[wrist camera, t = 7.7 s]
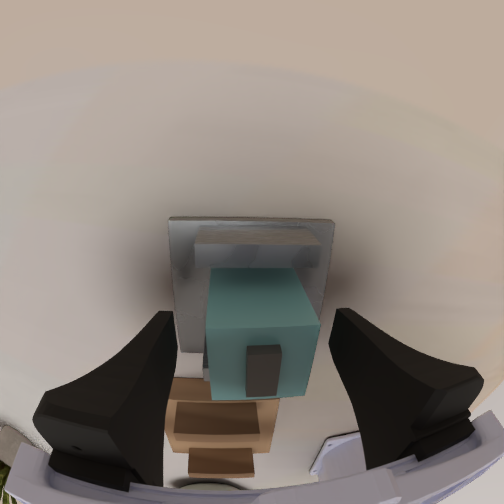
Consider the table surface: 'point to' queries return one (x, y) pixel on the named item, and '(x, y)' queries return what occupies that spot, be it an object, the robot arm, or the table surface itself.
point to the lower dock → (241, 262)
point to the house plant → (8, 456)
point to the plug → (259, 334)
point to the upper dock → (217, 429)
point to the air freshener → (209, 487)
